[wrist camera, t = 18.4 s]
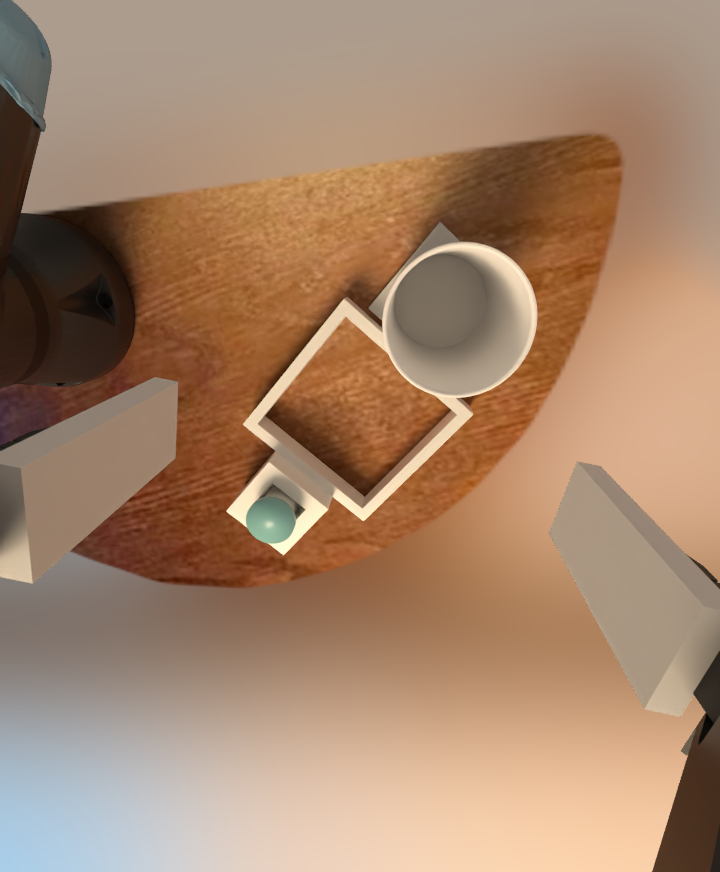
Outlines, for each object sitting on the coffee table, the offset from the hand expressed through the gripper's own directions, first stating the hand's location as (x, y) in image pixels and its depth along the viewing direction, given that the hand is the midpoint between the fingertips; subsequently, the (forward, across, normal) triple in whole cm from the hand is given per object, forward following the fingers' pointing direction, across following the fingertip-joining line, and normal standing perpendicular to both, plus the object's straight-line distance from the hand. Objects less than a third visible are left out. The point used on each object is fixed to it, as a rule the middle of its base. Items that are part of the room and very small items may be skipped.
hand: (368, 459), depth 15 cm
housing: (+28, -3, -11) cm, 30 cm away
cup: (+28, +4, +3) cm, 28 cm away
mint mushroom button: (+26, -7, -17) cm, 32 cm away
